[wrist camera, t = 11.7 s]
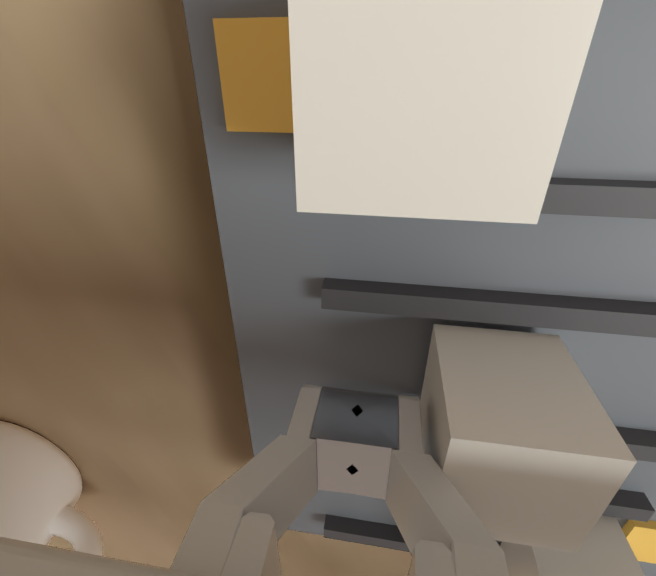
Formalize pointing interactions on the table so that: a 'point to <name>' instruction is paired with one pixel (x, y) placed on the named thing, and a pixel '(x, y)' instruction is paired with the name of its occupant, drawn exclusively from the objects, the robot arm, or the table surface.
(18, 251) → the table surface
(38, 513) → the mug
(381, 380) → the switch unit
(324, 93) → the slider
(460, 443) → the slider
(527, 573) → the slider
